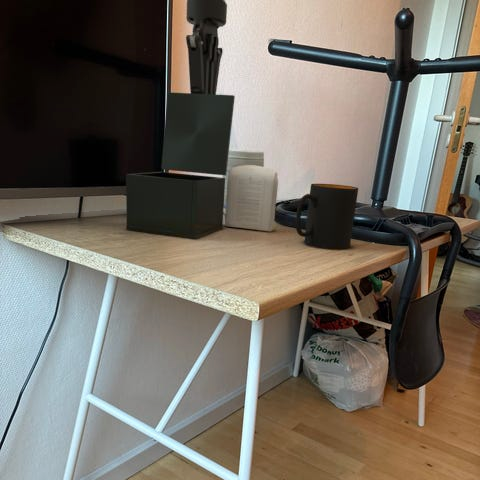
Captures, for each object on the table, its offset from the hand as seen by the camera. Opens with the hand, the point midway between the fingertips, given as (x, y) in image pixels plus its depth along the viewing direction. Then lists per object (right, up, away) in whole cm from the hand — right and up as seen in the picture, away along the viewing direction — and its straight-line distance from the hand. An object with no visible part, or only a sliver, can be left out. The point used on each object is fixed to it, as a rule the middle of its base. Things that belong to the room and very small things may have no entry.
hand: (201, 134), depth 99 cm
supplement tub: (+8, -12, +19) cm, 24 cm away
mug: (+22, -24, -11) cm, 35 cm away
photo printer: (+10, -19, +1) cm, 21 cm away
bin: (-4, -20, -6) cm, 22 cm away
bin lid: (-1, -2, -5) cm, 5 cm away
